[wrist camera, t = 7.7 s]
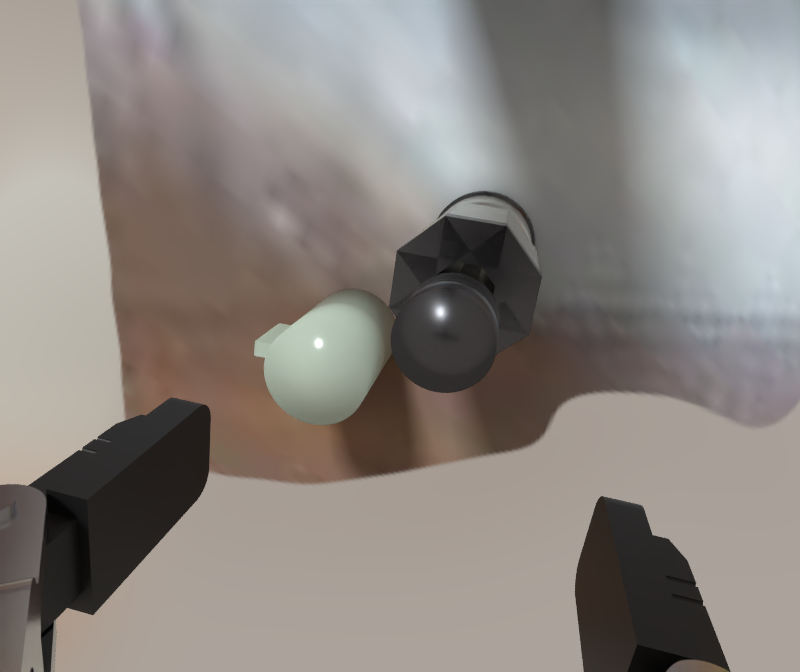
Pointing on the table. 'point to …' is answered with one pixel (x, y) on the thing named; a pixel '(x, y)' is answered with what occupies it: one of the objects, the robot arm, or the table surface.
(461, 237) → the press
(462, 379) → the plunger
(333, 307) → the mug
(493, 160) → the table surface
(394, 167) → the table surface
